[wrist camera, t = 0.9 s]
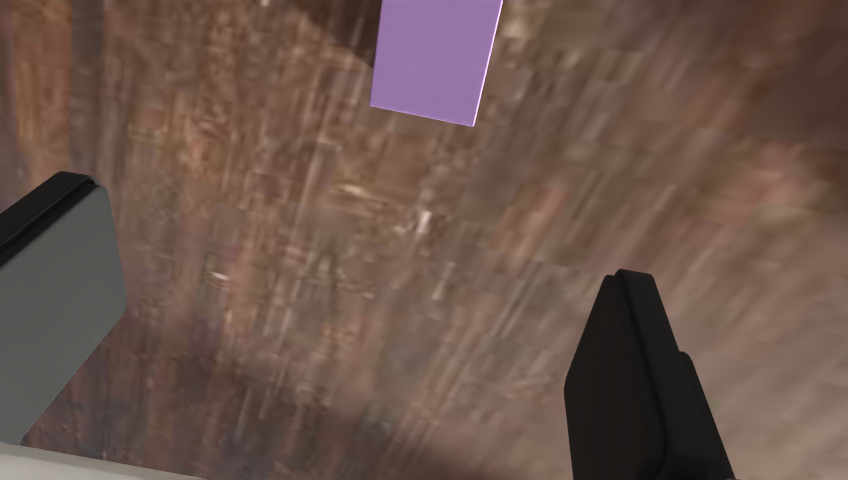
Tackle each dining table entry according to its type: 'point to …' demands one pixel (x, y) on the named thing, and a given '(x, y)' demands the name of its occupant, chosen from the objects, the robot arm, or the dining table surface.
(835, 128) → the dining table surface
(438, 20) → the block
